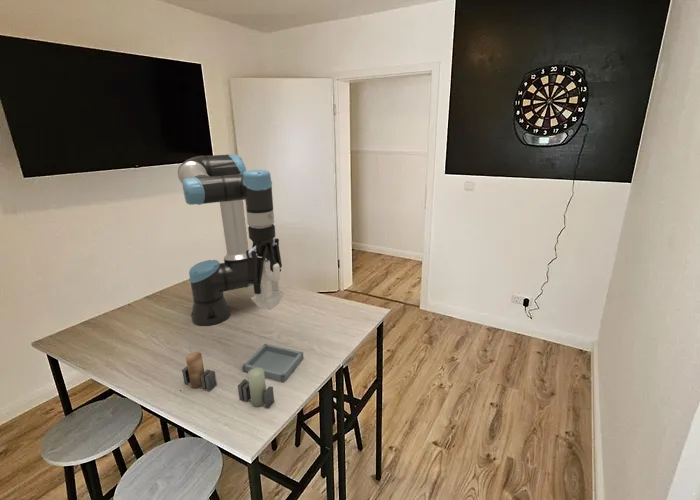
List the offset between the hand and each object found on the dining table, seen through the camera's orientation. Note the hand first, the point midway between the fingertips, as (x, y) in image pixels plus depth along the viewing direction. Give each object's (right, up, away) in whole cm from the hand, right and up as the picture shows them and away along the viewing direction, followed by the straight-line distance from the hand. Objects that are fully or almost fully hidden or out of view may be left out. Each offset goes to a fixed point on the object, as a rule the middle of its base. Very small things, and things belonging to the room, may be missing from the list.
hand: (267, 296), depth 112 cm
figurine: (0, -3, +1) cm, 3 cm away
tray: (0, -24, +8) cm, 25 cm away
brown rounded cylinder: (-21, -27, 0) cm, 34 cm away
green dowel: (-1, -29, -8) cm, 30 cm away
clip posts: (-11, -28, -4) cm, 30 cm away
